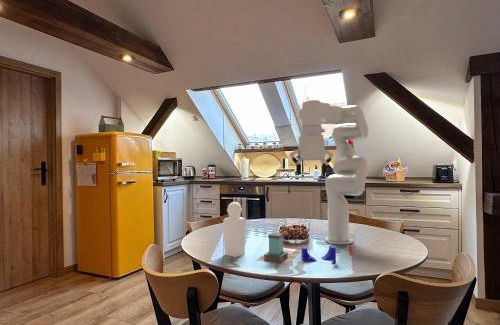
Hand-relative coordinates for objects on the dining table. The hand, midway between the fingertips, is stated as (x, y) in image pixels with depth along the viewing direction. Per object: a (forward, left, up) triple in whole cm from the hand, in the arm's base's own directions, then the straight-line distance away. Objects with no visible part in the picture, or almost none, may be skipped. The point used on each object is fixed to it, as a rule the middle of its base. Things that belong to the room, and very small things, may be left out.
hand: (311, 174), depth 125 cm
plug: (+12, -10, -31) cm, 35 cm away
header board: (+7, -10, -32) cm, 35 cm away
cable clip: (+6, +4, -33) cm, 34 cm away
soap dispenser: (+13, -27, -33) cm, 45 cm away
